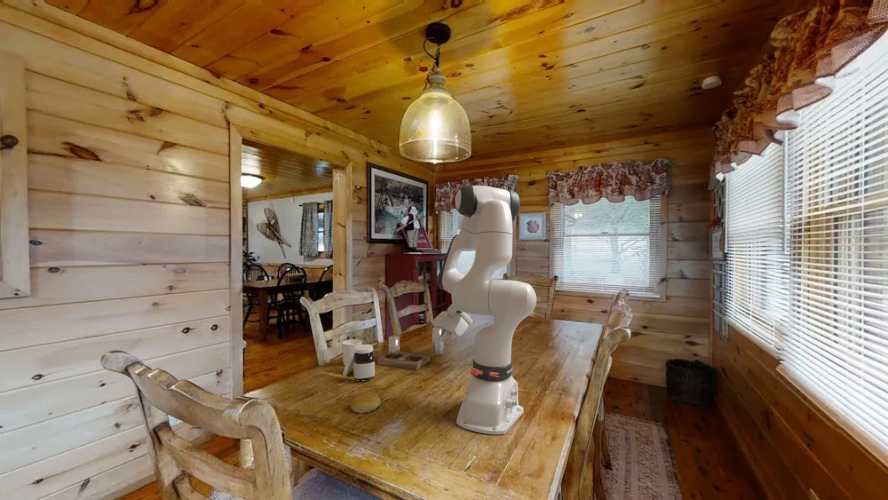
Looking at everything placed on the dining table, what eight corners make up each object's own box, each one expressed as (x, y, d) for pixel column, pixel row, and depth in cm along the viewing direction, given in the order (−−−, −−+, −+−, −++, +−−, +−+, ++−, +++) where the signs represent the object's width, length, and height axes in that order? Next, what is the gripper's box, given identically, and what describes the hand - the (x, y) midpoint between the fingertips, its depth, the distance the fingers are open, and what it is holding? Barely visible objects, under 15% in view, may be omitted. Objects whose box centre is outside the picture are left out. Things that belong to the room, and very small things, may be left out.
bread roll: (345, 412, 101) (345, 398, 101) (363, 399, 109) (363, 387, 109) (368, 417, 98) (368, 403, 98) (385, 403, 106) (385, 391, 106)
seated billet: (396, 363, 138) (396, 339, 138) (386, 361, 140) (386, 337, 140) (401, 359, 142) (401, 336, 142) (392, 358, 144) (392, 335, 144)
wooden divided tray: (416, 373, 130) (416, 364, 130) (376, 367, 137) (376, 358, 137) (429, 363, 141) (429, 355, 141) (392, 357, 148) (392, 350, 148)
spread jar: (376, 381, 123) (376, 349, 123) (344, 386, 119) (344, 353, 118) (371, 370, 134) (371, 341, 134) (341, 374, 130) (341, 344, 130)
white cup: (342, 364, 141) (341, 340, 141) (361, 362, 143) (361, 338, 143) (342, 370, 133) (342, 345, 133) (362, 368, 136) (362, 343, 136)
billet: (440, 354, 134) (440, 329, 134) (430, 353, 136) (430, 328, 136) (445, 351, 138) (445, 327, 138) (435, 350, 140) (435, 326, 140)
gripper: (441, 304, 149) (421, 329, 145) (465, 312, 131) (443, 340, 127) (450, 314, 151) (430, 338, 147) (475, 322, 133) (453, 350, 129)
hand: (436, 339), depth 137 cm, fingers closed on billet, 4 cm apart
